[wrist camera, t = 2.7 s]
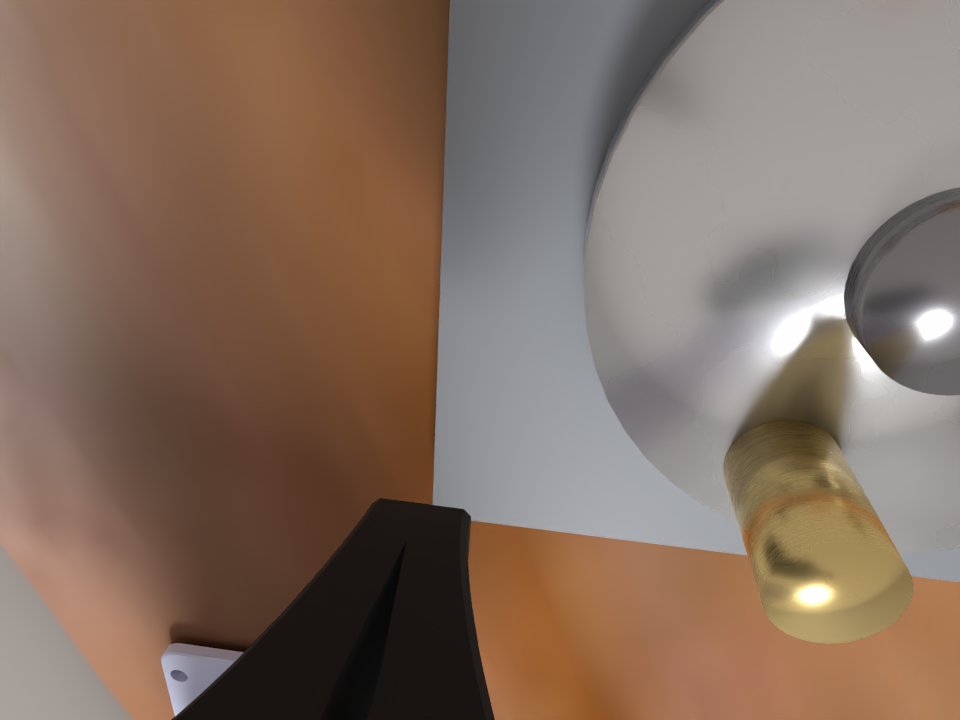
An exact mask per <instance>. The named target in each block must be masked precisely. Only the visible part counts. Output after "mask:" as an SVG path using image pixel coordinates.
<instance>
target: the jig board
mask: <svg viewBox="0 0 960 720" xmlns="http://www.w3.org/2000/svg"><path fill="white" fill-rule="evenodd" d="M709 1H710V0H450V10H449V40H448V69H447V99H446V128H445V158H444V187H443V217H442V246H441V276H440V305H439V335H438V364H437V393H436V423H435V452H434V482H433V505H437V506H445V507H452V508H460V509H464V510H465V511H466V512H467V513H468V514H469V515H470V516H471V521H479V522H487V523H495V524H503V525H511V526H519V527H527V528H535V529H542V530H550V531H558V532H566V533H574V534H582V535H590V536H598V537H606V538H614V539H622V540H630V541H638V542H645V543H653V544H661V545H669V546H677V547H685V548H693V549H701V550H709V551H717V552H725V553H733V554H741V555H747V552H746V549H745V545H744V542H743V539H742V535H741V532H740V529H739V526H738V523H736V522H734V521H731V520H729V519H727V518H726V517H724V516H722V515H720V514H718V513H717V512H715V511H713V510H711V509H709V508H708V507H706V506H704V505H702V504H700V503H699V502H697V501H696V500H695V499H693V498H692V497H691V496H689V495H688V494H686V493H685V492H684V491H682V490H681V489H680V488H678V487H677V486H675V485H674V484H673V483H671V482H670V481H669V480H668V479H667V478H666V477H665V476H664V475H663V474H662V473H661V472H660V471H659V470H658V469H657V468H656V467H655V466H654V465H653V464H652V463H651V462H650V461H648V460H647V459H646V457H645V456H644V455H643V453H642V452H641V451H640V450H639V448H638V447H637V446H636V445H635V443H634V442H633V441H632V439H631V438H630V437H629V436H628V434H627V433H626V432H625V430H624V428H623V427H622V425H621V423H620V421H619V420H618V418H617V416H616V414H615V413H614V411H613V409H612V407H611V406H610V404H609V402H608V400H607V397H606V395H605V392H604V390H603V387H602V384H601V382H600V379H599V377H598V374H597V372H596V369H595V366H594V361H593V357H592V352H591V348H590V343H589V339H588V334H587V328H586V314H585V300H584V280H583V263H584V248H585V234H586V226H587V221H588V216H589V211H590V207H591V202H592V197H593V192H594V187H595V184H596V182H597V179H598V176H599V173H600V170H601V167H602V164H603V161H604V159H605V156H606V153H607V150H608V147H609V144H610V142H611V140H612V138H613V136H614V134H615V132H616V130H617V128H618V126H619V124H620V122H621V120H622V118H623V116H624V114H625V112H626V110H627V108H628V106H629V104H630V102H631V100H632V98H633V97H634V95H635V94H636V92H637V91H638V89H639V88H640V86H641V85H642V83H643V82H644V80H645V79H646V77H647V76H648V74H649V72H650V71H651V69H652V68H653V66H654V65H655V63H656V62H657V60H658V59H659V57H660V56H661V55H662V54H663V52H664V51H665V50H666V49H667V48H668V46H669V45H670V44H671V43H672V42H673V40H674V39H675V38H676V37H677V36H678V34H679V33H680V32H681V31H682V30H683V28H684V27H685V26H686V25H687V24H688V22H689V21H690V20H691V19H692V18H693V16H694V15H695V14H696V13H697V12H698V11H699V10H700V9H701V8H702V7H703V6H704V5H706V4H707V3H708V2H709ZM899 554H900V556H901V558H902V559H903V561H904V563H905V565H906V566H907V568H908V570H909V572H910V574H911V576H915V577H923V578H931V579H939V580H947V581H954V582H960V549H951V550H941V551H931V552H922V553H899Z"/></svg>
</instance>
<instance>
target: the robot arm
mask: <svg viewBox="0 0 960 720" xmlns="http://www.w3.org/2000/svg"><path fill="white" fill-rule="evenodd" d="M470 525H471V516H470V515H469V514H468V513H467V512H466V511H465V510H464V509H460V508H452V507H445V506H437V505H429V504H421V503H413V502H405V501H397V500H389V499H381V498H380V499H378V500H377V501H375V502H374V503H372V505H371V506H370V508H369V509H368V510H367V512H366V513H365V515H364V516H363V517H362V519H361V520H360V521H359V523H358V524H357V525H356V527H355V528H354V529H353V531H352V532H351V533H350V534H349V536H348V537H347V538H346V539H345V541H344V542H343V543H342V544H341V546H340V547H339V548H338V549H337V551H336V552H335V553H334V554H333V555H332V557H331V558H330V559H329V560H328V562H327V563H326V564H325V565H324V566H323V568H322V569H321V570H320V571H319V572H318V573H317V574H316V576H315V577H314V578H313V579H312V580H311V581H310V582H309V584H308V585H307V586H306V587H305V588H304V589H303V590H302V591H301V593H300V594H299V595H298V596H297V597H296V598H295V599H294V601H293V602H292V603H291V604H290V605H289V606H288V607H287V608H286V609H285V610H284V612H283V613H282V614H281V615H280V616H279V617H278V618H277V619H276V620H275V621H274V622H273V623H272V624H271V625H270V626H269V627H268V628H267V629H266V630H265V631H264V632H263V633H262V634H261V635H260V636H259V637H258V638H257V639H256V640H255V641H254V643H253V644H252V645H251V646H250V647H249V648H248V649H247V650H246V651H245V652H239V651H232V650H225V649H218V648H211V647H204V646H197V645H190V644H183V643H173V644H171V645H169V646H168V647H167V648H166V650H165V651H164V653H163V655H162V656H161V663H162V667H163V671H164V675H165V679H166V683H167V687H168V691H169V695H170V699H171V703H172V707H173V711H174V715H175V717H174V718H173V719H172V720H495V719H494V715H493V711H492V707H491V703H490V698H489V694H488V690H487V685H486V681H485V676H484V672H483V667H482V662H481V657H480V652H479V647H478V641H477V634H476V628H475V622H474V615H473V609H472V602H471V594H470V584H469V570H468V554H469V539H470Z"/></svg>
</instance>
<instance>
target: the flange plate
mask: <svg viewBox="0 0 960 720" xmlns="http://www.w3.org/2000/svg"><path fill="white" fill-rule="evenodd" d="M583 280H584V300H585V314H586V328H587V334H588V339H589V343H590V348H591V352H592V357H593V361H594V366H595V369H596V372H597V374H598V377H599V379H600V382H601V384H602V387H603V390H604V392H605V395H606V397H607V400H608V402H609V404H610V406H611V407H612V409H613V411H614V413H615V414H616V416H617V418H618V420H619V421H620V423H621V425H622V427H623V428H624V430H625V432H626V433H627V434H628V436H629V437H630V438H631V439H632V441H633V442H634V443H635V445H636V446H637V447H638V448H639V450H640V451H641V452H642V453H643V455H644V456H645V457H646V459H647V460H648V461H650V462H651V463H652V464H653V465H654V466H655V467H656V468H657V469H658V470H659V471H660V472H661V473H662V474H663V475H664V476H665V477H666V478H667V479H668V480H669V481H670V482H671V483H673V484H674V485H675V486H677V487H678V488H680V489H681V490H682V491H684V492H685V493H686V494H688V495H689V496H691V497H692V498H693V499H695V500H696V501H697V502H699V503H700V504H702V505H704V506H706V507H708V508H709V509H711V510H713V511H715V512H717V513H718V514H720V515H722V516H724V517H726V518H727V519H729V520H731V521H734V522H736V523H738V526H739V529H740V532H741V535H742V539H743V542H744V545H745V549H746V552H747V555H748V559H749V562H750V565H751V569H752V572H753V575H754V579H755V582H756V585H757V588H758V592H759V595H760V598H761V602H762V605H763V608H764V611H765V613H766V615H767V617H768V618H769V620H770V621H771V622H772V623H773V624H774V625H775V626H776V627H777V628H779V629H780V630H781V631H783V632H785V633H787V634H788V635H790V636H793V637H795V638H798V639H801V640H805V641H810V642H816V643H844V642H850V641H855V640H859V639H862V638H865V637H868V636H871V635H873V634H876V633H878V632H880V631H882V630H883V629H885V628H887V627H888V626H890V625H891V624H892V623H894V622H895V621H896V620H897V619H898V618H899V617H900V616H901V615H902V614H903V613H904V611H905V610H906V608H907V607H908V605H909V603H910V601H911V598H912V594H913V581H912V577H911V574H910V572H909V570H908V568H907V566H906V565H905V563H904V561H903V559H902V558H901V556H900V554H899V553H922V552H931V551H941V550H951V549H960V0H710V1H709V2H708V3H707V4H706V5H704V6H703V7H702V8H701V9H700V10H699V11H698V12H697V13H696V14H695V15H694V16H693V18H692V19H691V20H690V21H689V22H688V24H687V25H686V26H685V27H684V28H683V30H682V31H681V32H680V33H679V34H678V36H677V37H676V38H675V39H674V40H673V42H672V43H671V44H670V45H669V46H668V48H667V49H666V50H665V51H664V52H663V54H662V55H661V56H660V57H659V59H658V60H657V62H656V63H655V65H654V66H653V68H652V69H651V71H650V72H649V74H648V76H647V77H646V79H645V80H644V82H643V83H642V85H641V86H640V88H639V89H638V91H637V92H636V94H635V95H634V97H633V98H632V100H631V102H630V104H629V106H628V108H627V110H626V112H625V114H624V116H623V118H622V120H621V122H620V124H619V126H618V128H617V130H616V132H615V134H614V136H613V138H612V140H611V142H610V144H609V147H608V150H607V153H606V156H605V159H604V161H603V164H602V167H601V170H600V173H599V176H598V179H597V182H596V184H595V187H594V192H593V197H592V202H591V207H590V211H589V216H588V221H587V226H586V234H585V248H584V263H583Z"/></svg>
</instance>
